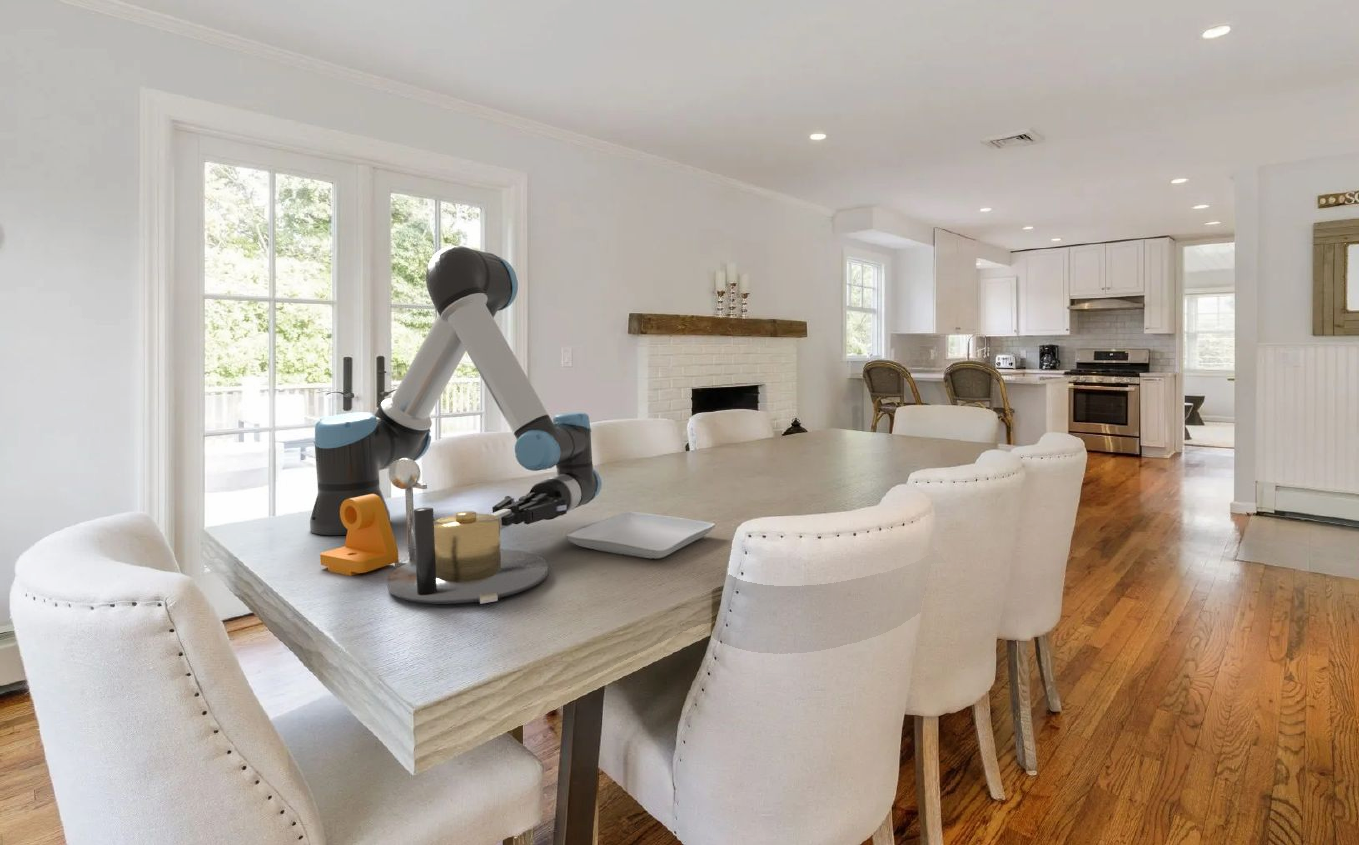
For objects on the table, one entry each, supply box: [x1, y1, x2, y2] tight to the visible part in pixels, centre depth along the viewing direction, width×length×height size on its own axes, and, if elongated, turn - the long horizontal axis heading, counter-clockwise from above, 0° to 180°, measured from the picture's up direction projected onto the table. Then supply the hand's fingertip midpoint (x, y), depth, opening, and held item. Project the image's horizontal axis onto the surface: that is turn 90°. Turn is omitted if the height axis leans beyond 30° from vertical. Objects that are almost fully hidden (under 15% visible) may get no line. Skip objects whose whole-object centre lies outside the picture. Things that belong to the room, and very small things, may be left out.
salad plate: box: [565, 510, 716, 560], centre depth 131 cm, size 21×21×3 cm
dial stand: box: [387, 458, 428, 570], centre depth 116 cm, size 7×4×18 cm, turn 83°
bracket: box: [319, 494, 400, 577], centre depth 116 cm, size 11×7×12 cm, turn 63°
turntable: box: [386, 506, 549, 605], centre depth 108 cm, size 24×24×13 cm
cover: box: [434, 510, 502, 581], centre depth 108 cm, size 10×10×9 cm
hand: (486, 525), depth 113 cm, fingers closed
